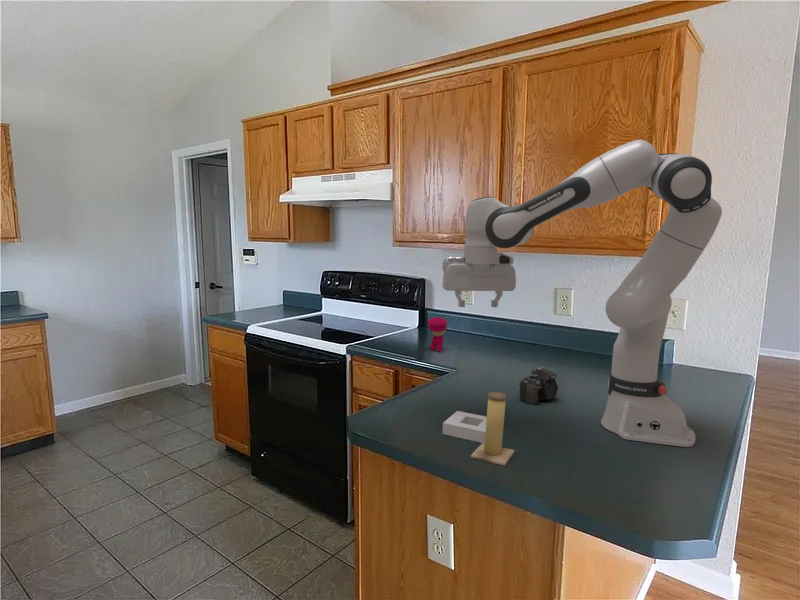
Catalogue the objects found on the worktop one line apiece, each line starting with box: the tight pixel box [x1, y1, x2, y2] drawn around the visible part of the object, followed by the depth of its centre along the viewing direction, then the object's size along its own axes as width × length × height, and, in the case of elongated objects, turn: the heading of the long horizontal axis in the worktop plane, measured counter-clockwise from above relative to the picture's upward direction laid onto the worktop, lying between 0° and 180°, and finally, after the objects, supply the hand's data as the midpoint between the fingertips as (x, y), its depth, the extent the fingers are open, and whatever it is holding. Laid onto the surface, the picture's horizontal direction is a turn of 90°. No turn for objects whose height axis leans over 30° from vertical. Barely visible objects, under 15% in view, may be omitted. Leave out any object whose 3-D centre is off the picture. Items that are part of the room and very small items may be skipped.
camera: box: [518, 366, 559, 406], centre depth 153 cm, size 13×10×10 cm
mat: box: [470, 443, 515, 467], centre depth 114 cm, size 8×8×1 cm
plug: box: [484, 391, 507, 455], centre depth 114 cm, size 4×4×14 cm
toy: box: [427, 316, 448, 353], centre depth 213 cm, size 8×8×15 cm
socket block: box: [442, 410, 487, 444], centre depth 127 cm, size 12×10×3 cm
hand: (478, 306), depth 136 cm, fingers open, 8 cm apart
